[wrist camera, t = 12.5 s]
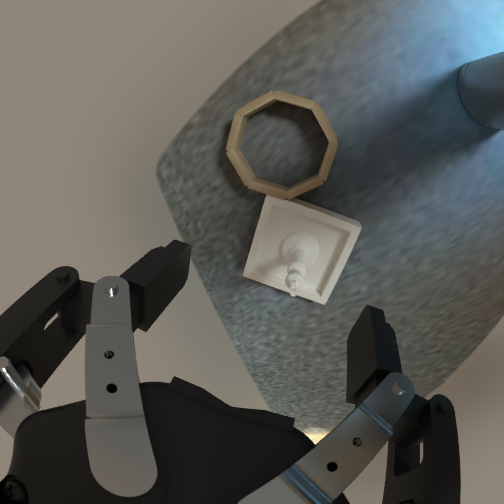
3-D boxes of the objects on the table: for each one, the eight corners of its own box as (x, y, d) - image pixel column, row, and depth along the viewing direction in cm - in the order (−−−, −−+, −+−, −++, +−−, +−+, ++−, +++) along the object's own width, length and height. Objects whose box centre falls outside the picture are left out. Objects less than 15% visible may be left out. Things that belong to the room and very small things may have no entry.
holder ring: (346, 114, 27) (348, 113, 25) (315, 205, 33) (315, 211, 31) (248, 86, 28) (243, 83, 26) (225, 175, 34) (218, 179, 32)
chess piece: (282, 265, 37) (268, 311, 28) (280, 231, 34) (265, 269, 26) (319, 266, 35) (316, 313, 27) (319, 231, 33) (318, 271, 25)
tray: (359, 221, 32) (361, 227, 31) (325, 295, 38) (324, 304, 36) (269, 189, 33) (266, 193, 32) (246, 268, 39) (242, 276, 37)
